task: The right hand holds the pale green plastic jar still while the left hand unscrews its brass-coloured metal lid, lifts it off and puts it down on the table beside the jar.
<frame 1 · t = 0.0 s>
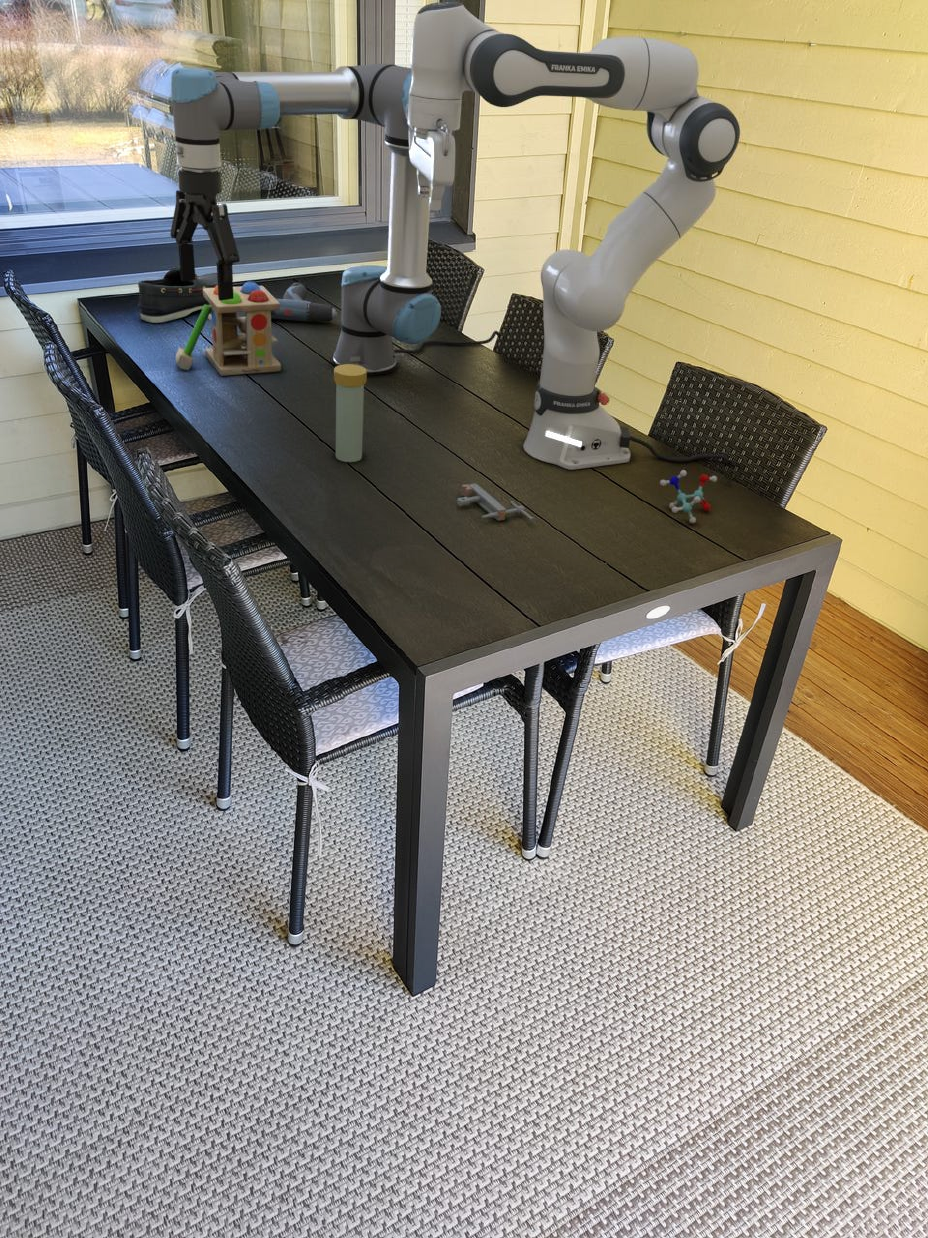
left hand: (206, 289, 186), 28 cm above the table, tool pointing down, fingers open, 13 cm apart
right hand: (428, 203, 172), 48 cm above the table, tool pointing down, fingers open, 8 cm apart
molecular model: (682, 512, 187), on the table
boat shoe: (186, 307, 263), on the table
pounding bench toy: (225, 365, 230), on the table
lid: (350, 371, 185), point 18 cm above the table, screwed on, not yet turned
jar: (348, 456, 195), on the table
clamp: (490, 511, 181), on the table
power drill: (305, 313, 267), on the table
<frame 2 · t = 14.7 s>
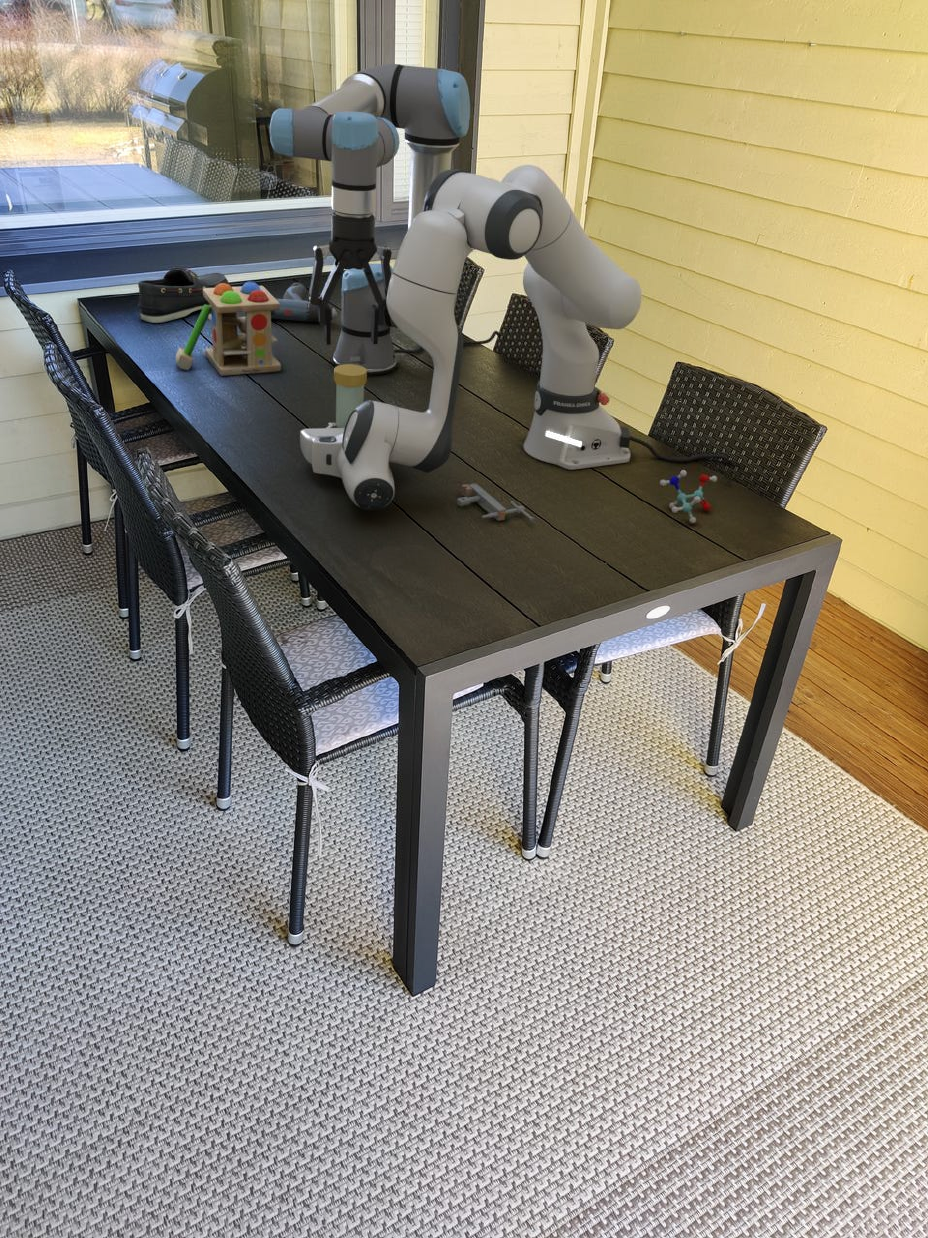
left hand: (350, 341, 182), 23 cm above the table, tool pointing down, fingers open, 8 cm apart
right hand: (348, 425, 192), 6 cm above the table, tool horizontal, fingers closed on jar, 5 cm apart
jar: (348, 456, 195), on the table, touching right hand
everything else where it was.
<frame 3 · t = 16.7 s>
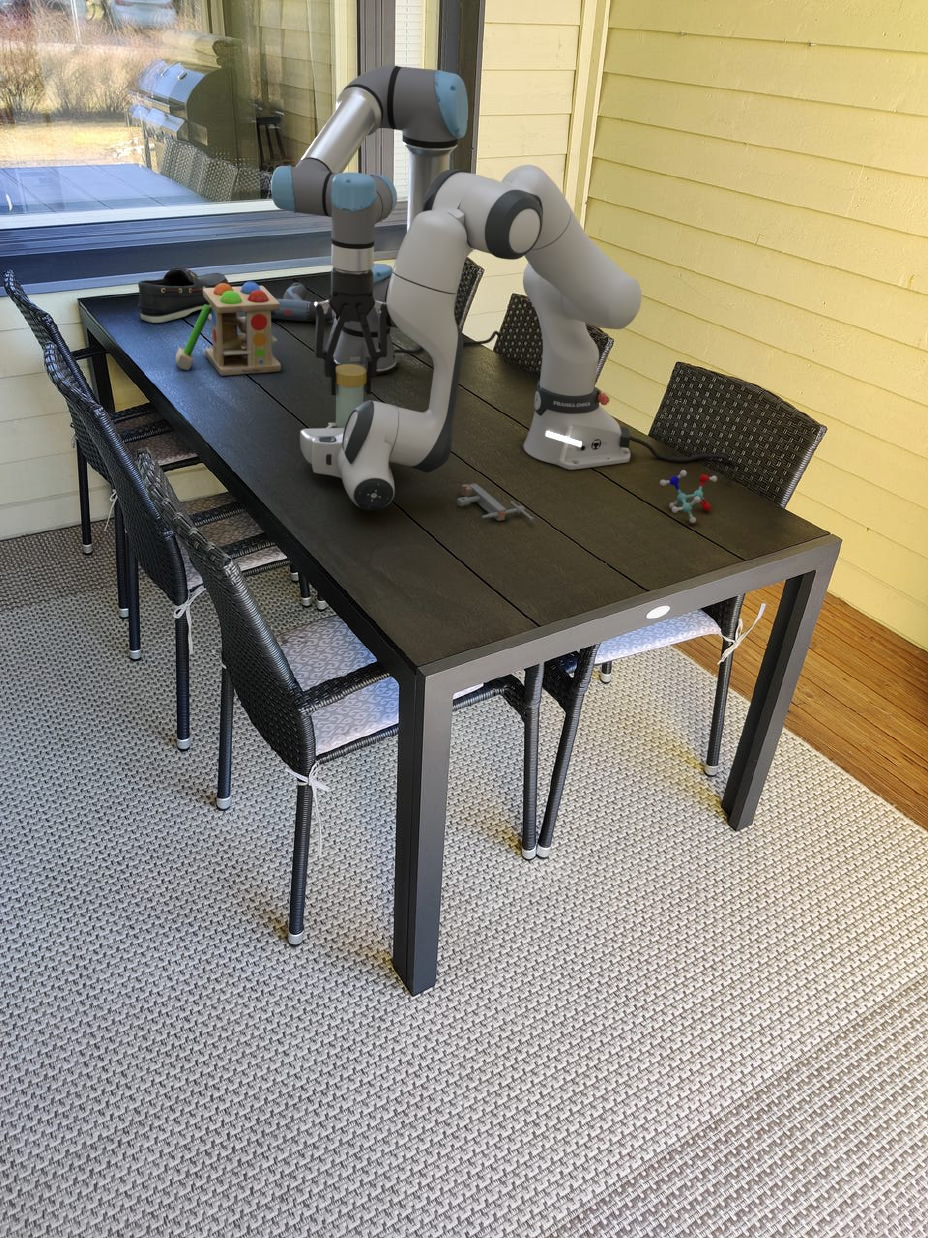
left hand: (350, 391, 188), 13 cm above the table, tool pointing down, fingers closed on lid, 6 cm apart
right hand: (348, 425, 192), 6 cm above the table, tool horizontal, fingers closed on jar, 5 cm apart
lid: (350, 371, 185), point 18 cm above the table, screwed on, not yet turned, touching left hand
jar: (348, 456, 195), on the table, touching right hand
everything else where it was.
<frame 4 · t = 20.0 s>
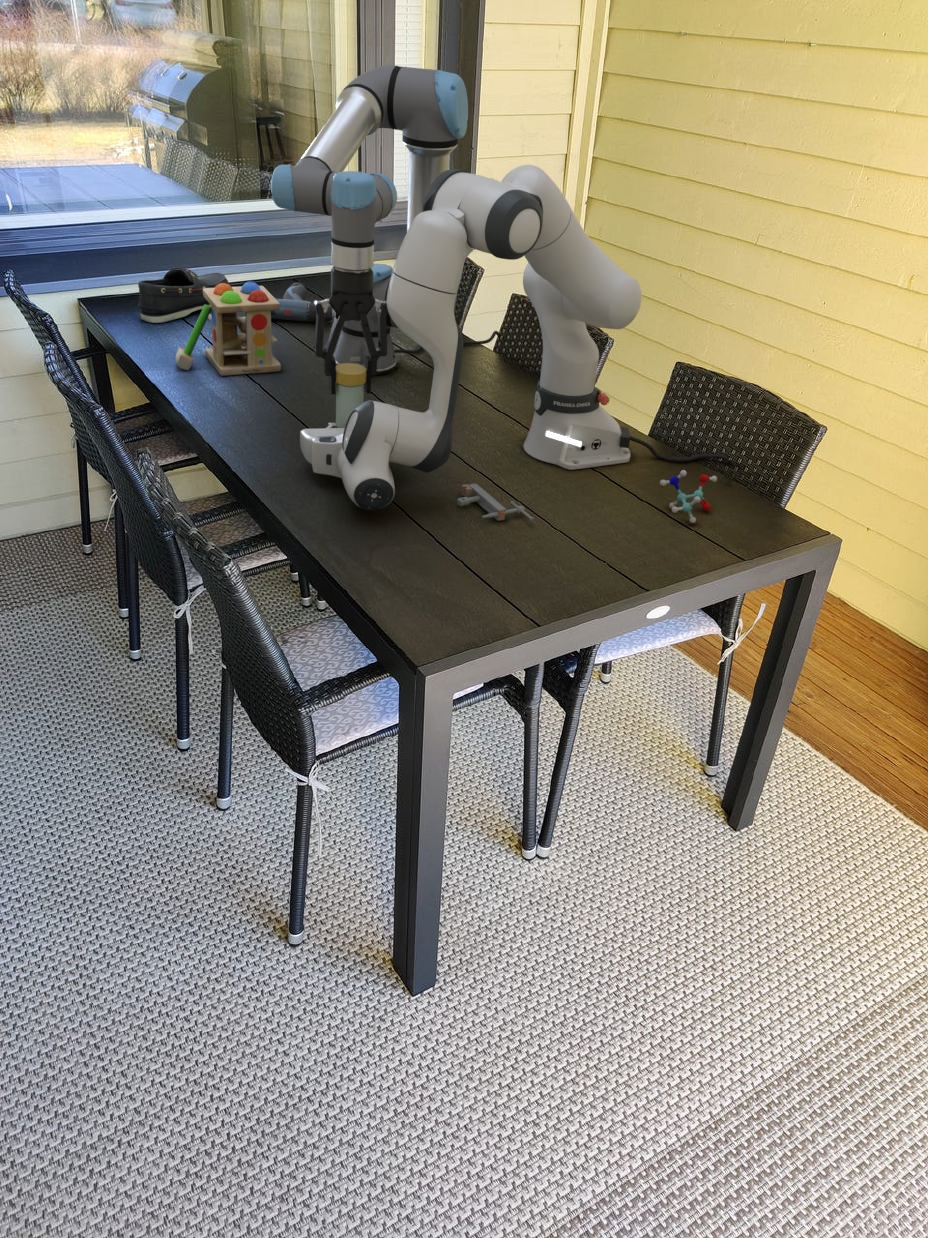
left hand: (350, 390, 188), 14 cm above the table, tool pointing down, fingers closed on lid, 6 cm apart
right hand: (348, 425, 192), 6 cm above the table, tool horizontal, fingers closed on jar, 5 cm apart
lid: (350, 370, 185), point 18 cm above the table, turned 121° so far, risen 0.2 cm, still on its thread, touching left hand
jar: (348, 456, 195), on the table, touching right hand
everything else where it was.
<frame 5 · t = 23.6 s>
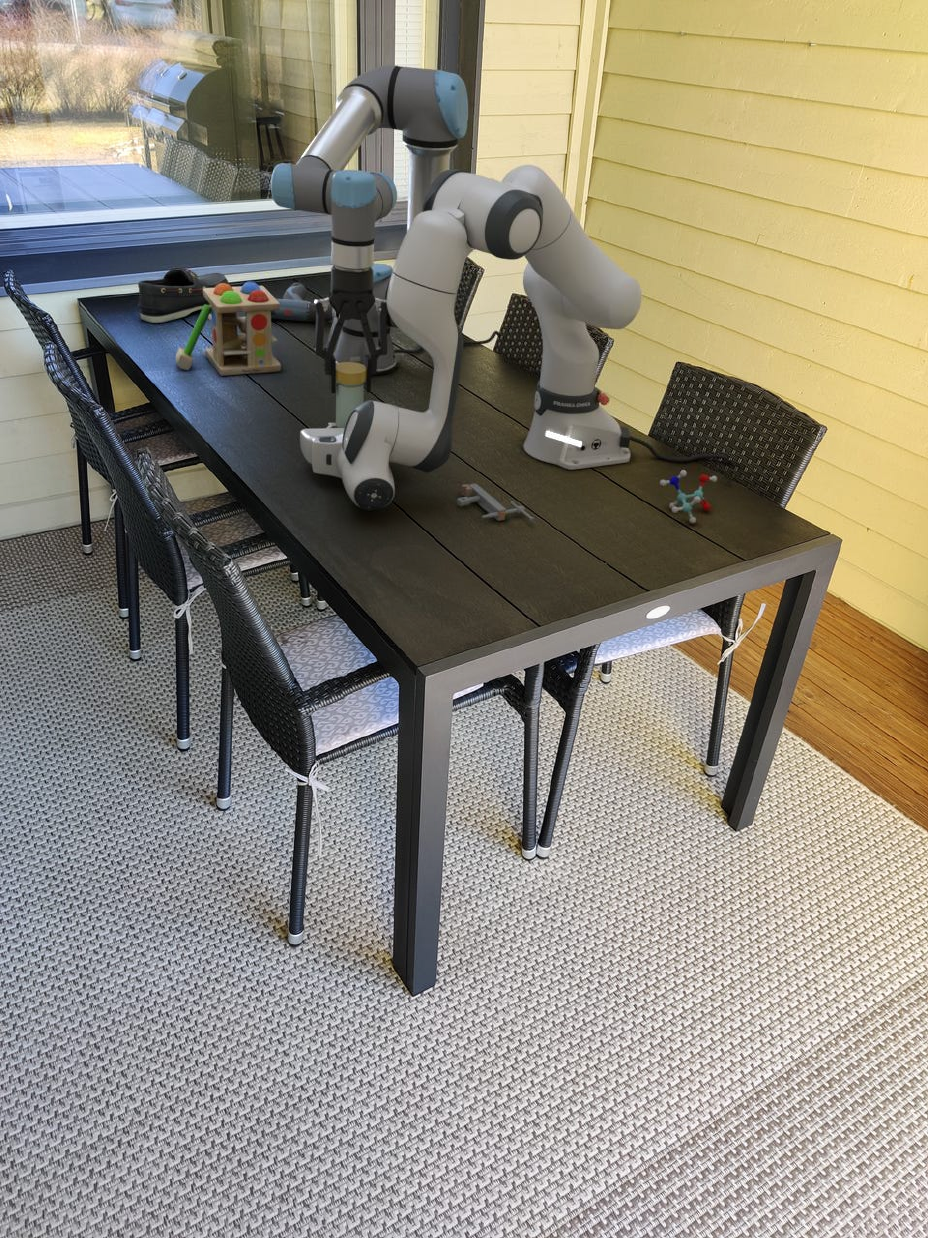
left hand: (350, 389, 187), 14 cm above the table, tool pointing down, fingers closed on lid, 6 cm apart
right hand: (348, 425, 192), 6 cm above the table, tool horizontal, fingers closed on jar, 5 cm apart
lid: (350, 369, 185), point 18 cm above the table, turned 242° so far, risen 0.4 cm, still on its thread, touching left hand
jar: (348, 456, 195), on the table, touching right hand
everything else where it was.
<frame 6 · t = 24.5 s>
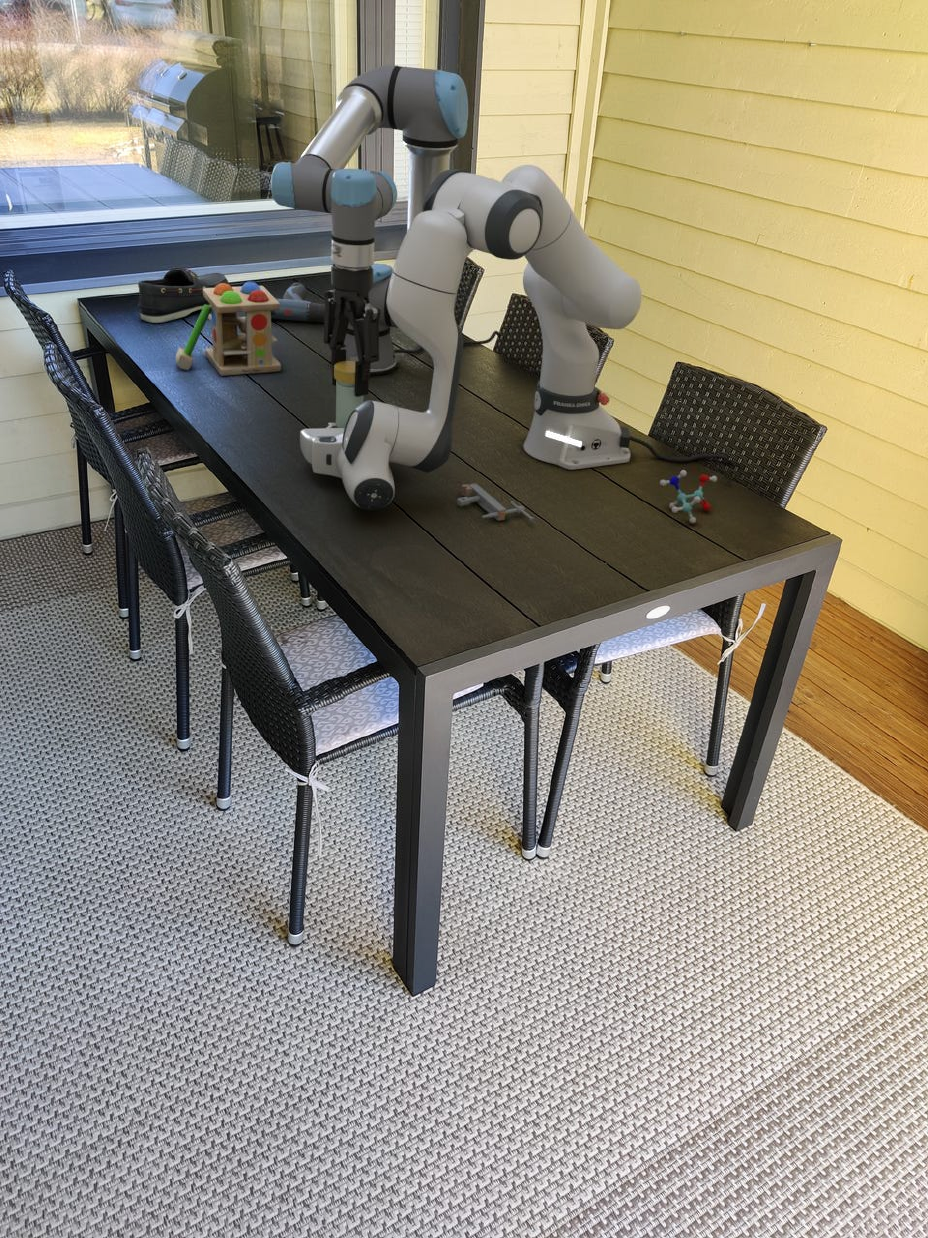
left hand: (350, 388, 187), 14 cm above the table, tool pointing down, fingers closed on lid, 6 cm apart
right hand: (348, 425, 192), 6 cm above the table, tool horizontal, fingers closed on jar, 5 cm apart
lid: (350, 368, 185), point 18 cm above the table, off its thread, touching left hand
jar: (348, 456, 195), on the table, touching right hand
everything else where it was.
when the left hand's fingers open (0 cm above the table, at t = 31.2 s): lid drops 2 cm, point 2 cm above the table.
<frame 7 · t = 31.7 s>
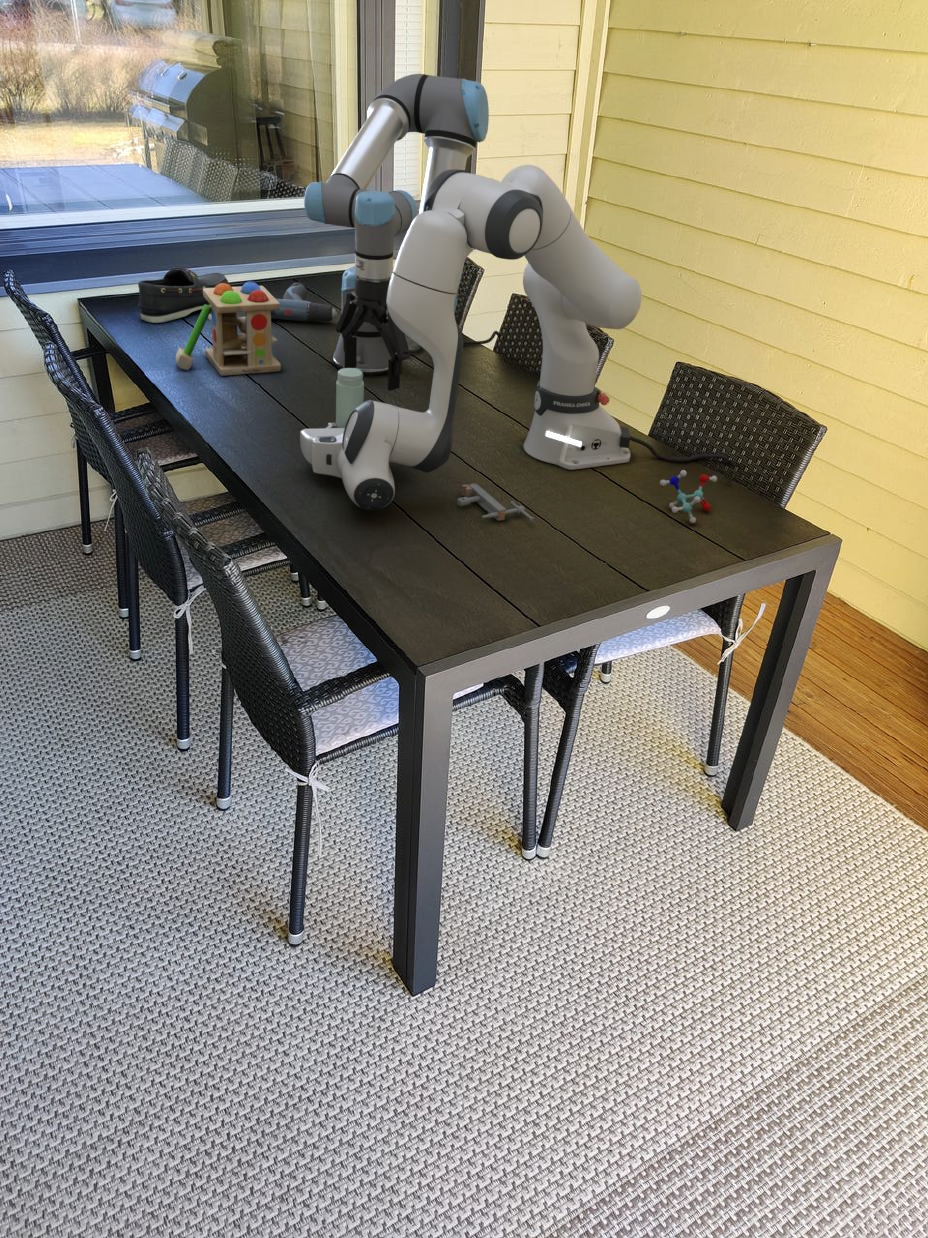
left hand: (371, 378, 207), 9 cm above the table, tool pointing down, fingers open, 13 cm apart
right hand: (348, 425, 192), 6 cm above the table, tool horizontal, fingers closed on jar, 5 cm apart
lid: (369, 411, 210), point 2 cm above the table, off its thread
jar: (348, 456, 195), on the table, touching right hand
everything else where it was.
when the right hand's fingers open (6 cm above the table, at t = 31.9 s): jar stays where it is, on the table.
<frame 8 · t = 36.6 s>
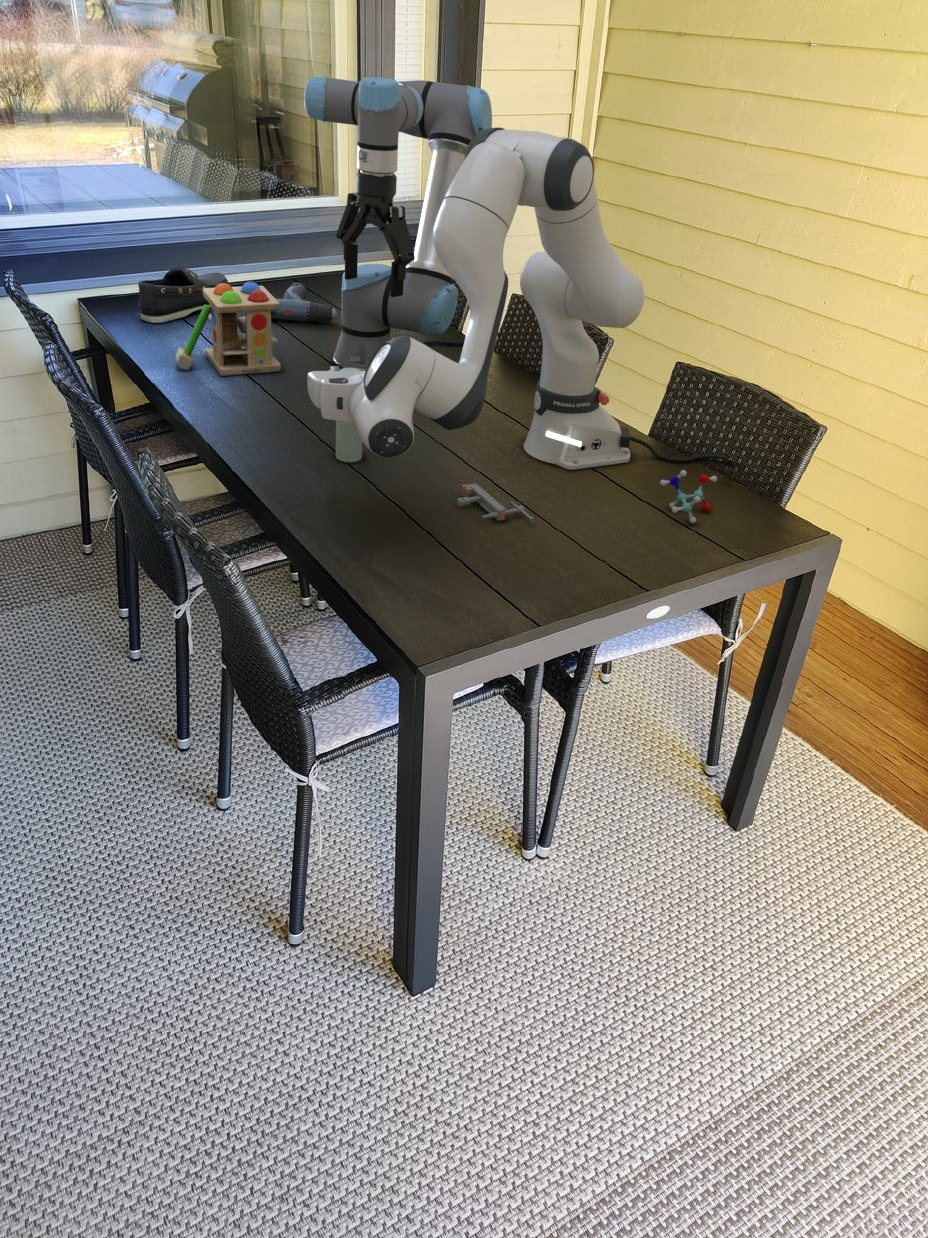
left hand: (373, 287, 196), 28 cm above the table, tool pointing down, fingers open, 13 cm apart
right hand: (360, 370, 174), 22 cm above the table, tool horizontal, fingers open, 8 cm apart
jar: (348, 456, 195), on the table
everything else where it was.
at the end: lid came off its thread; lid point 1.8 cm above the table; the left hand is holding nothing; the right hand is holding nothing; jar tilted 0°; jar moved 0.0 cm from its start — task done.
